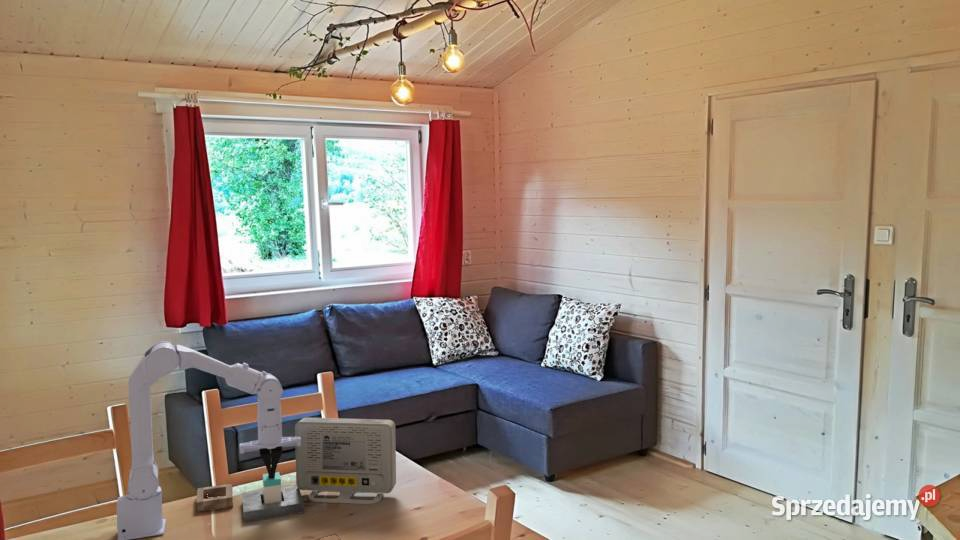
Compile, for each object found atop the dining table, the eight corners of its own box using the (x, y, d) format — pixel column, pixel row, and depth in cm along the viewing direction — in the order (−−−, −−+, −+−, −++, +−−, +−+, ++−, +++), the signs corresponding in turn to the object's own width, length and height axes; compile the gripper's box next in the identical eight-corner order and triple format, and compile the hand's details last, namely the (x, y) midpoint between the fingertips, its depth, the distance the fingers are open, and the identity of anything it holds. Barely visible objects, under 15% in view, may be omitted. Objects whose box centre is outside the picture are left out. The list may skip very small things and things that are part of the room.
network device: (398, 491, 181) (397, 417, 180) (390, 505, 172) (389, 427, 171) (304, 487, 184) (302, 414, 182) (292, 501, 175) (290, 424, 173)
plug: (265, 512, 169) (264, 481, 168) (263, 504, 173) (262, 474, 173) (281, 510, 170) (280, 478, 169) (280, 502, 175) (279, 471, 174)
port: (244, 522, 163) (243, 512, 163) (242, 502, 175) (241, 493, 174) (303, 512, 168) (303, 502, 168) (298, 494, 180) (298, 485, 179)
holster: (196, 512, 169) (196, 502, 169) (197, 497, 178) (197, 488, 178) (232, 506, 172) (232, 497, 172) (232, 492, 181) (231, 483, 181)
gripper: (239, 432, 163) (241, 487, 165) (301, 424, 169) (303, 478, 170) (238, 423, 170) (240, 476, 171) (298, 417, 175) (299, 468, 176)
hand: (271, 476), depth 171 cm, fingers closed, pressing on plug
